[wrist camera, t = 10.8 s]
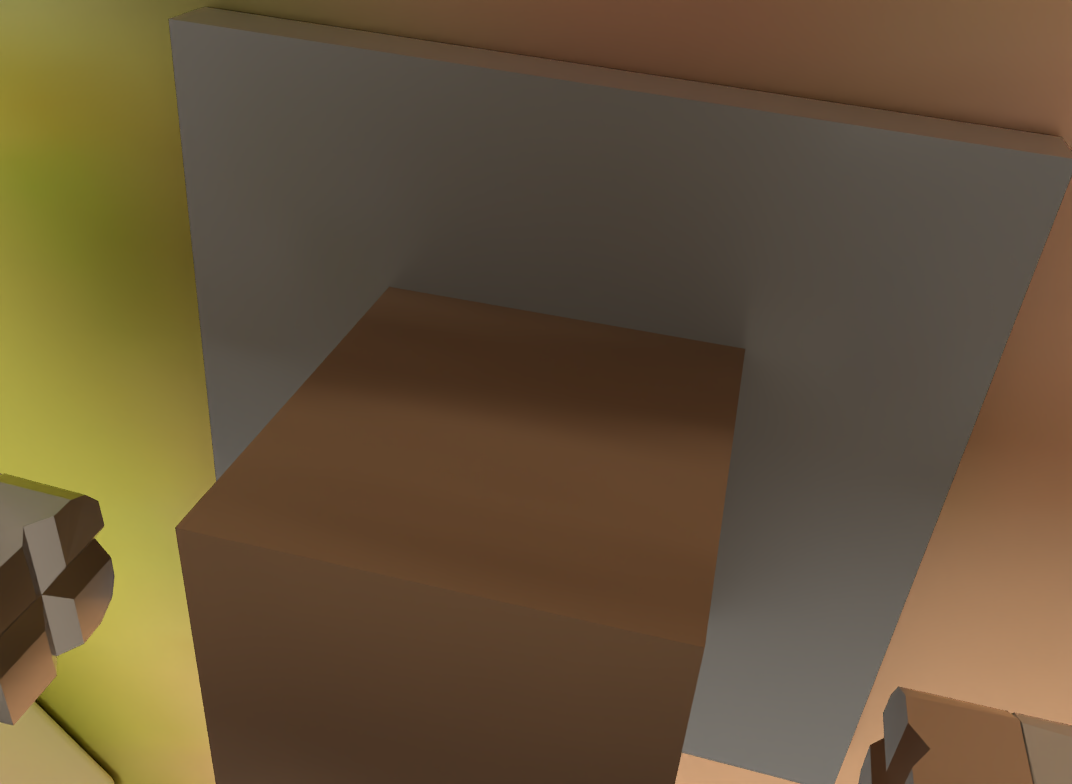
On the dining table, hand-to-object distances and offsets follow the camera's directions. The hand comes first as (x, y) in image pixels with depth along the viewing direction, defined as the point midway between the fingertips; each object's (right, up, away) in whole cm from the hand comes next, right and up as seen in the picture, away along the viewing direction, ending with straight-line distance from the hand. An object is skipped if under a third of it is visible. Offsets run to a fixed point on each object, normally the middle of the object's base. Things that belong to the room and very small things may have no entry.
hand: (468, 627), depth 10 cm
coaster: (+1, +2, +4) cm, 5 cm away
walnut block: (+1, +1, +3) cm, 4 cm away
